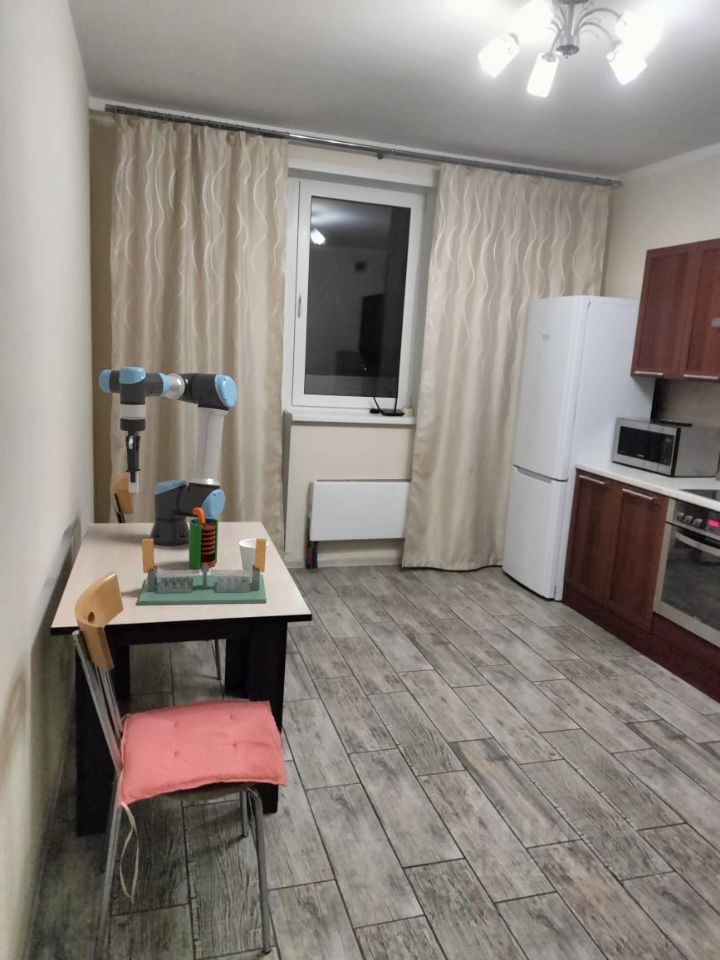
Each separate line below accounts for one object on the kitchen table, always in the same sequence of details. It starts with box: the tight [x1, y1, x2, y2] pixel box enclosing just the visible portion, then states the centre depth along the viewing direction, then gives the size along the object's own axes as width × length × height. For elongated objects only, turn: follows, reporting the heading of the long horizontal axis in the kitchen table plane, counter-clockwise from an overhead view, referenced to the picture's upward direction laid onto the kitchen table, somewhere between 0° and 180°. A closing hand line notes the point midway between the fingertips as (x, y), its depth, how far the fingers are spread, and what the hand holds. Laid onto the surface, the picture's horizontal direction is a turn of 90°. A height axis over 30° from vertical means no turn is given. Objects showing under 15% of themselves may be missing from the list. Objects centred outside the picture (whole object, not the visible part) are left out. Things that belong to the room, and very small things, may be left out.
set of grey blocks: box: [147, 563, 260, 594], centre depth 216 cm, size 10×33×7 cm, turn 101°
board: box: [138, 574, 267, 606], centre depth 217 cm, size 22×37×1 cm, turn 101°
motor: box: [188, 508, 219, 571], centre depth 239 cm, size 10×9×20 cm
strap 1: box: [141, 538, 201, 578], centre depth 213 cm, size 16×3×12 cm, turn 100°
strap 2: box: [209, 538, 267, 577], centre depth 217 cm, size 16×3×12 cm, turn 101°
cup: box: [238, 538, 269, 575], centre depth 233 cm, size 10×10×11 cm
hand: (133, 491), depth 219 cm, fingers closed
